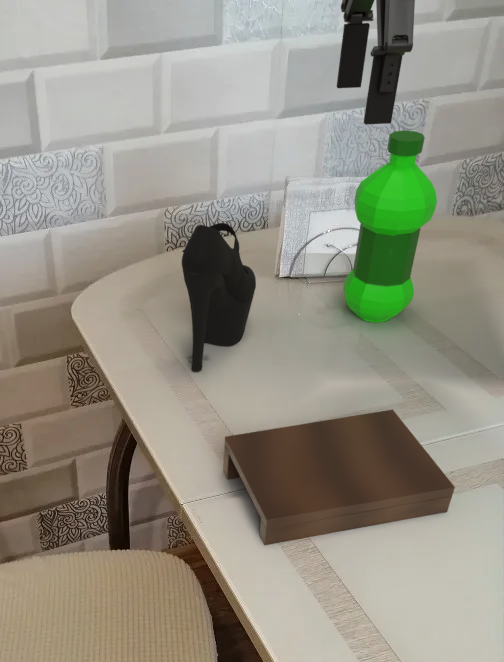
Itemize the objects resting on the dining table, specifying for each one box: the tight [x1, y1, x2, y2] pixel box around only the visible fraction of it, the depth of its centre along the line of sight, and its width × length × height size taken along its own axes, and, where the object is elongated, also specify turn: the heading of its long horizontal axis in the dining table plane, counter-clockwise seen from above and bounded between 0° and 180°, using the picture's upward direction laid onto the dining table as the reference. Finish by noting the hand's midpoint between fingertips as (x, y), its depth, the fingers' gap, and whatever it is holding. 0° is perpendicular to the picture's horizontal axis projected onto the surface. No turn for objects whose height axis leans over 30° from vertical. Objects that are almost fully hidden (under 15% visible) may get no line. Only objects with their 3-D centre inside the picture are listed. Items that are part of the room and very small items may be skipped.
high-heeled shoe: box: [181, 222, 257, 373], centre depth 106 cm, size 8×19×20 cm, turn 155°
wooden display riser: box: [222, 409, 456, 546], centre depth 86 cm, size 20×14×5 cm
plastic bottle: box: [343, 129, 438, 324], centre depth 109 cm, size 10×10×25 cm
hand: (362, 104), depth 89 cm, fingers open, 13 cm apart
